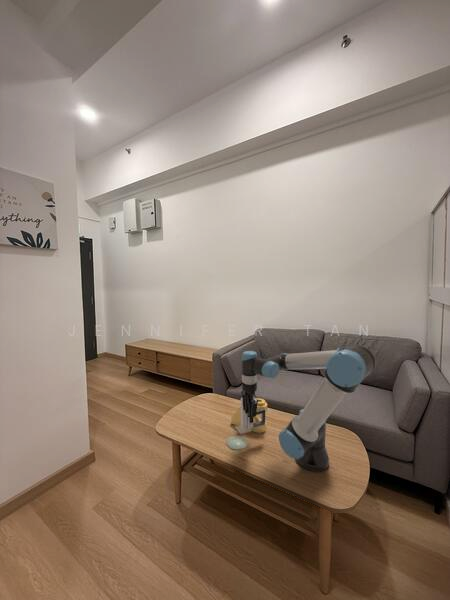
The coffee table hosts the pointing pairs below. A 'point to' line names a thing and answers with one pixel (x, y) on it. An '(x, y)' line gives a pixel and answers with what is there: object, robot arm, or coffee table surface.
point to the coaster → (237, 442)
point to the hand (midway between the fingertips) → (249, 426)
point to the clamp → (260, 405)
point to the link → (262, 422)
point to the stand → (244, 421)
